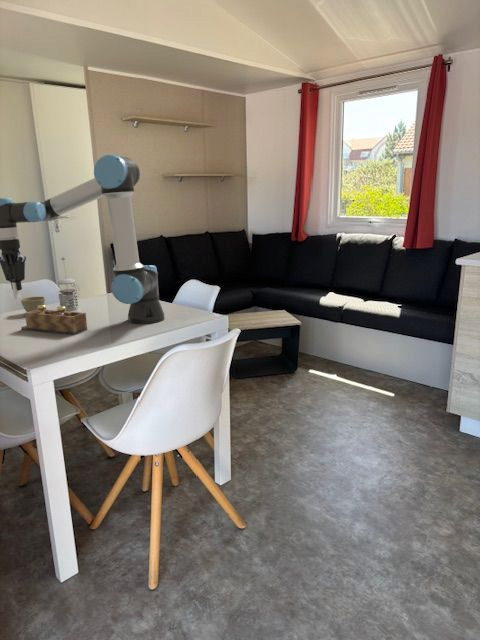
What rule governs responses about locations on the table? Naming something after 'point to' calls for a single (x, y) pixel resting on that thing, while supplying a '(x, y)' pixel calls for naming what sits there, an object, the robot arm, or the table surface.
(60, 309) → the rail
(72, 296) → the french press
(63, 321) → the wooden compartment box
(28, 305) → the flower pot
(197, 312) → the table surface
